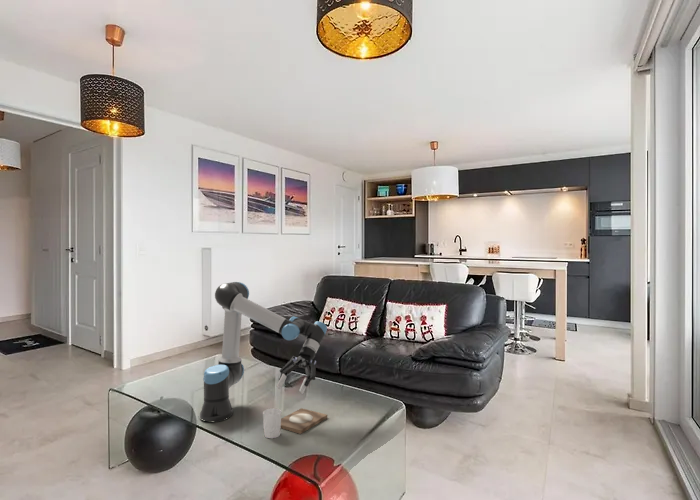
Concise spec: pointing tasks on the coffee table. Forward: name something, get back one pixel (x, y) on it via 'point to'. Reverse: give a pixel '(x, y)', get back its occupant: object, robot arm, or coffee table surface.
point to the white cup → (272, 422)
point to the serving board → (301, 420)
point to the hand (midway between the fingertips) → (289, 390)
